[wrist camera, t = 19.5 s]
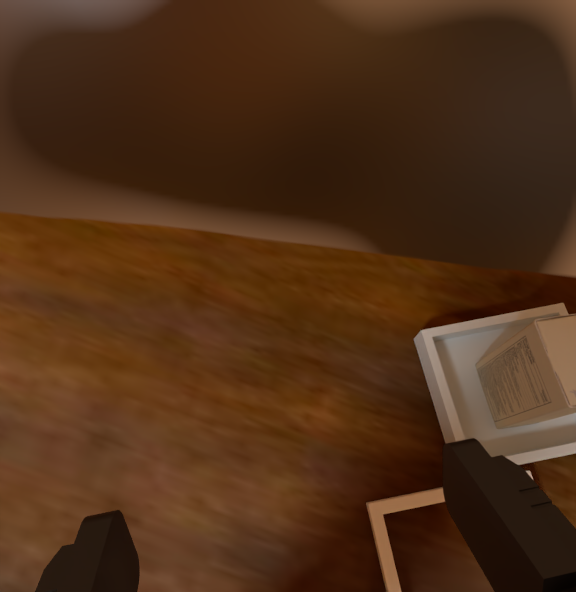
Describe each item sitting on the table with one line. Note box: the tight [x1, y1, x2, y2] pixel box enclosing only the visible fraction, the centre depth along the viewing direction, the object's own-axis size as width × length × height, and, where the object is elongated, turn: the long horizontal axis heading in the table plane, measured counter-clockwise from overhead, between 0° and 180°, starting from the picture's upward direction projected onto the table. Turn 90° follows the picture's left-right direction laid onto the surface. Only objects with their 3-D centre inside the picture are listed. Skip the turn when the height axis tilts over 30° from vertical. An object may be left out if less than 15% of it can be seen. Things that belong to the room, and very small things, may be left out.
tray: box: [414, 303, 576, 465], centre depth 40 cm, size 13×14×3 cm
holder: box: [366, 471, 533, 592], centre depth 36 cm, size 12×14×2 cm
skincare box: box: [475, 314, 576, 429], centre depth 35 cm, size 6×4×12 cm
